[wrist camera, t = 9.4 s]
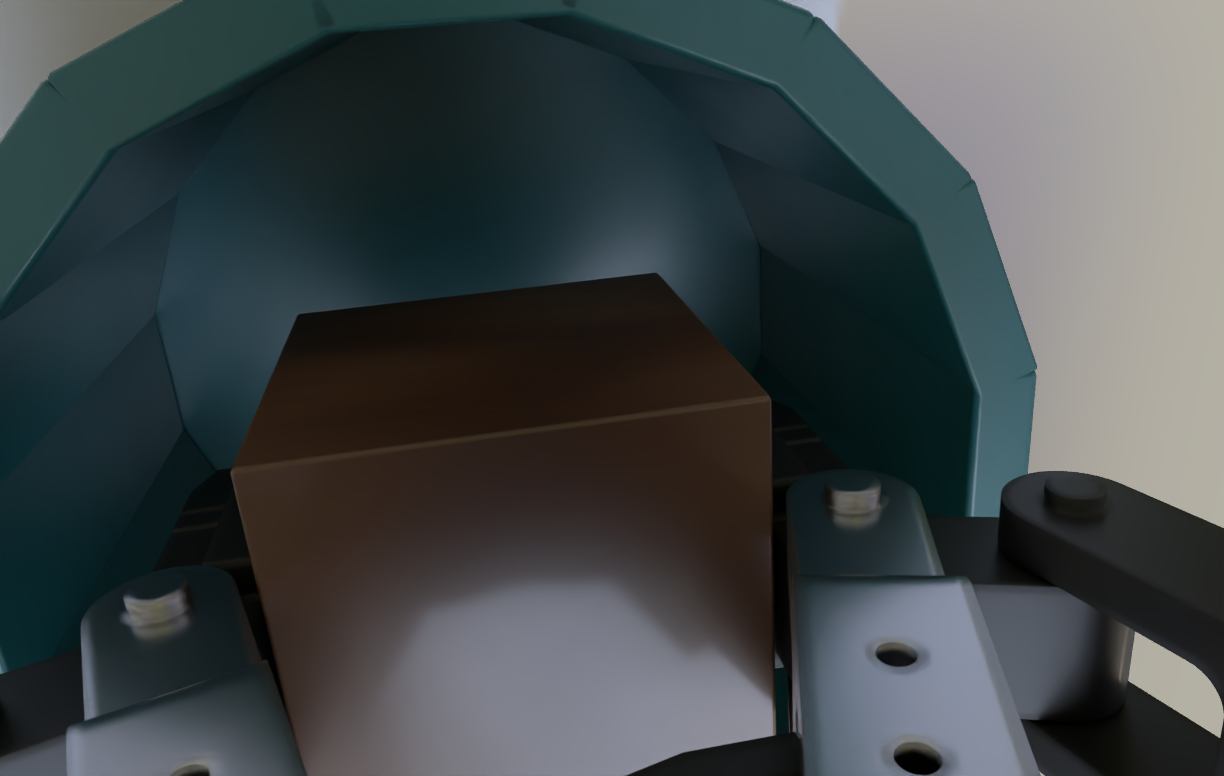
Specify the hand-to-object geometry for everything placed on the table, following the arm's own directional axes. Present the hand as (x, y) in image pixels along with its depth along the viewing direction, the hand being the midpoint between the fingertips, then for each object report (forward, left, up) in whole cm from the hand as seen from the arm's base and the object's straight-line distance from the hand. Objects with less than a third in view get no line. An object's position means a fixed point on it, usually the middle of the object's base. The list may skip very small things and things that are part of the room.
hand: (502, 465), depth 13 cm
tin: (0, 0, -6) cm, 6 cm away
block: (0, 0, 0) cm, 0 cm away
